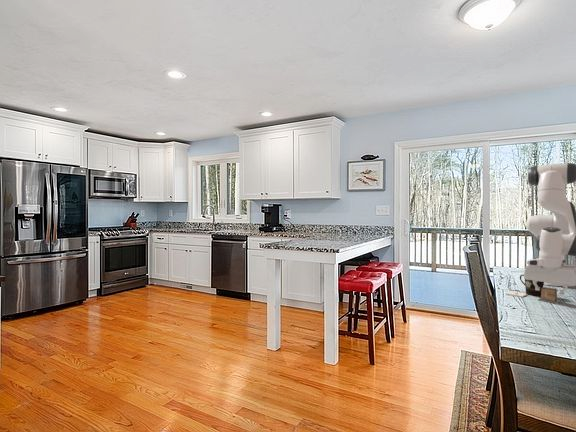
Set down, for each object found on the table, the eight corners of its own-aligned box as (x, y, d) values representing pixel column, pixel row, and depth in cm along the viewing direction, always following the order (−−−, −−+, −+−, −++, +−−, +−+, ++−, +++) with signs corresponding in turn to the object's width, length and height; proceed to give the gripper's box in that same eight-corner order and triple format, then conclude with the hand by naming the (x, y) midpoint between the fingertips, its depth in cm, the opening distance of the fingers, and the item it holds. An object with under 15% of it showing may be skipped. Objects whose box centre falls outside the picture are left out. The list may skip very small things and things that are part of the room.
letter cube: (544, 297, 169) (544, 286, 169) (556, 299, 165) (557, 288, 165) (541, 299, 165) (541, 288, 165) (554, 301, 162) (554, 290, 161)
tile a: (542, 297, 170) (542, 296, 170) (560, 300, 165) (560, 299, 165) (538, 300, 166) (538, 299, 166) (556, 303, 160) (556, 302, 160)
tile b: (510, 292, 181) (510, 291, 181) (526, 295, 176) (527, 293, 176) (506, 294, 176) (506, 293, 176) (522, 297, 171) (522, 296, 171)
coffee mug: (548, 297, 172) (548, 276, 171) (528, 296, 173) (528, 275, 173) (536, 291, 183) (536, 272, 183) (517, 290, 185) (518, 271, 184)
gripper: (580, 264, 159) (579, 295, 160) (527, 259, 175) (526, 287, 175) (577, 266, 155) (576, 297, 155) (523, 260, 170) (522, 289, 171)
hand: (549, 292), depth 165 cm, fingers open, 8 cm apart
